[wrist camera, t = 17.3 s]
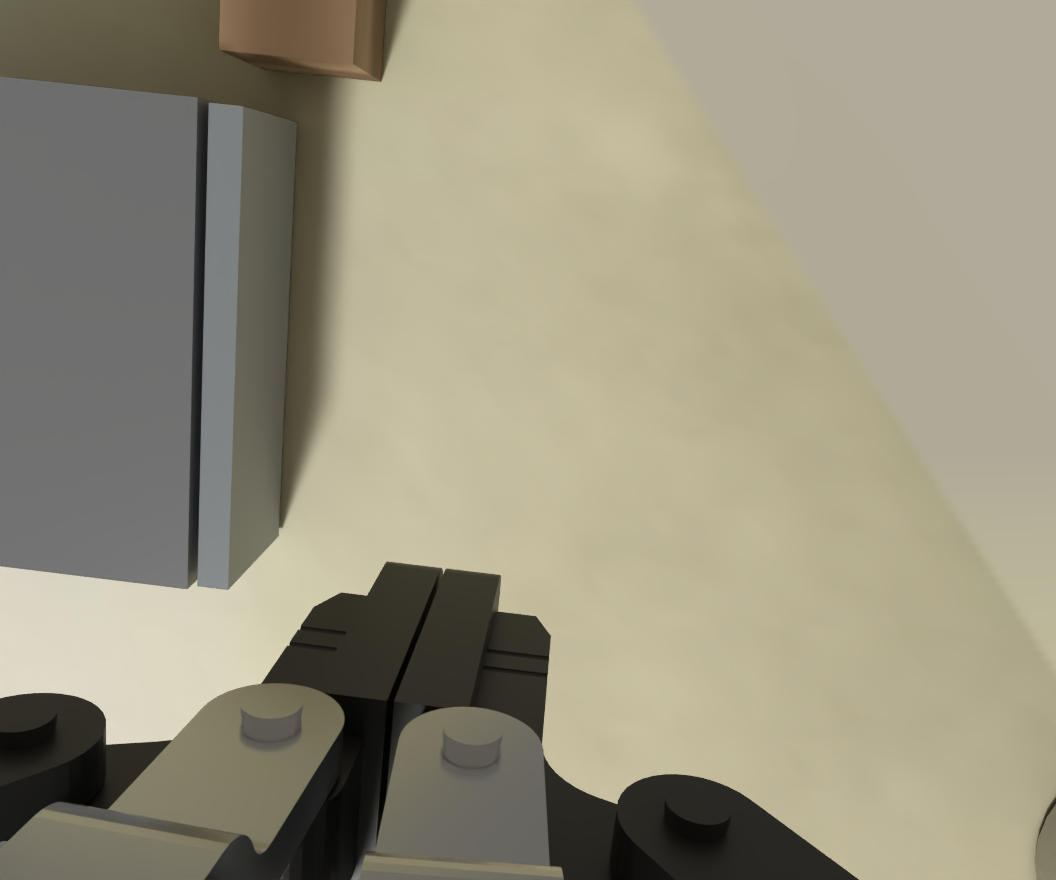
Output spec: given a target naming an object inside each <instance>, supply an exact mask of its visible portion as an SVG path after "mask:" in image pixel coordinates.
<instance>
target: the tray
mask: <svg viewBox="0 0 1056 880" xmlns="http://www.w3.org/2000/svg"><path fill="white" fill-rule="evenodd" d="M296 137H297V122H294V121H290V120H287V119H284V118H280V117H277V116H274V115H271V114H267V113H264V112H261V111H257V110H254V109H251V108H248V107H244V106H236V105H227V104H218V103H209V115H208V145H207V182H206V225H205V267H204V309H203V352H202V394H201V437H200V479H199V538H198V580H197V586H201V587H209V588H217V589H225V590H228V589H229V588H230V587H231V586H232V585H233V584H234V583H235V582H236V581H237V580H238V579H239V578H240V577H241V575H242V574H243V573H244V572H245V571H246V570H247V569H248V568H249V567H250V566H251V565H252V564H253V563H254V562H255V561H256V560H257V558H258V557H259V556H260V555H261V554H262V553H263V552H264V551H265V550H266V549H267V548H268V547H269V546H270V545H271V544H272V543H273V541H274V540H275V539H276V538H277V537H278V536H279V515H280V492H281V470H282V448H283V426H284V404H285V381H286V359H287V337H288V315H289V292H290V270H291V248H292V226H293V203H294V181H295V159H296Z"/></svg>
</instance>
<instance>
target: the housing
mask: <svg viewBox="0 0 1056 880" xmlns="http://www.w3.org/2000/svg"><path fill="white" fill-rule="evenodd" d="M209 103H215V102H212V101H208V100H205V99H201V98H198V97H189V96H180V95H170V94H161V93H151V92H142V91H133V90H123V89H114V88H104V87H95V86H86V85H76V84H67V83H57V82H48V81H39V80H29V79H20V78H10V77H1V76H0V566H3V567H11V568H20V569H28V570H36V571H44V572H52V573H60V574H68V575H76V576H85V577H93V578H101V579H109V580H117V581H125V582H133V583H142V584H150V585H158V586H166V587H174V588H182V589H188V588H189V587H190V586H191V585H192V584H193V583H194V582H195V581H196V580H197V579H198V538H199V479H200V437H201V394H202V352H203V309H204V267H205V225H206V182H207V145H208V115H209ZM218 104H219V103H218Z"/></svg>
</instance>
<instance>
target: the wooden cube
mask: <svg viewBox="0 0 1056 880" xmlns="http://www.w3.org/2000/svg"><path fill="white" fill-rule="evenodd" d="M385 14H386V0H220V22H219V50H221V51H223V52H225V53H227V54H230V55H232V56H234V57H237V58H239V59H241V60H243V61H246V62H248V63H250V64H253V65H255V66H257V67H259V68H262V69H266V70H275V71H285V72H294V73H304V74H313V75H323V76H333V77H342V78H352V79H361V80H371V81H380V82H381V76H382V61H383V45H384V30H385Z"/></svg>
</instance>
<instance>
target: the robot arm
mask: <svg viewBox="0 0 1056 880" xmlns="http://www.w3.org/2000/svg"><path fill="white" fill-rule="evenodd" d="M500 584H501V575H495V574H487V573H478V572H470V571H462V570H454V569H446V570H445V572H444V574H443V570H442V568H436V567H428V566H419V565H411V564H403V563H395V562H386V564H385V565H384V567H383V569H382V570H381V572H380V574H379V576H378V577H377V579H376V581H375V583H374V585H373V586H372V588H371V590H370V592H369V593H368V595H367V596H364V595H356V594H348V593H339V594H338V595H336V596H334V597H332V598H330V599H328V600H326V601H324V602H322V603H321V604H319V605H317V606H315V607H314V608H313V609H312V611H311V612H310V613H309V615H308V616H307V618H306V619H305V621H304V622H303V624H302V625H301V629H300V630H298V631H297V632H296V634H295V635H294V637H293V638H292V640H291V641H290V645H289V646H287V647H286V648H285V650H284V651H283V653H282V654H281V656H280V657H279V659H278V660H277V662H276V663H275V665H274V666H273V667H272V669H271V670H270V672H269V673H268V675H267V676H266V678H265V679H264V681H263V682H262V683H261V684H258V685H250V686H246V687H242V688H238V689H235V690H232V691H229V692H226V693H224V694H222V695H220V696H218V697H216V698H215V699H213V700H211V701H210V702H209V703H208V704H206V705H205V706H204V707H203V708H202V709H201V710H200V711H199V712H198V713H197V714H196V716H195V717H194V718H193V719H192V720H191V721H190V722H189V723H188V724H187V725H186V726H185V727H184V728H183V729H182V731H181V732H180V733H179V734H178V735H177V736H176V737H175V738H174V739H173V740H169V741H159V742H144V743H128V744H112V745H106V719H105V716H104V714H103V712H102V711H101V710H100V709H99V707H97V706H96V705H94V704H93V703H91V702H89V701H87V700H85V699H82V698H79V697H75V696H71V695H65V694H55V693H32V694H22V695H15V696H10V697H4V698H0V880H859V879H857V878H856V877H855V876H853V875H852V874H850V873H849V872H848V871H846V870H845V869H844V868H842V867H841V866H840V865H838V864H837V863H836V862H834V861H833V860H831V859H830V858H829V857H827V856H826V855H825V854H823V853H822V852H821V851H819V850H818V849H816V848H815V847H814V846H812V845H811V844H810V843H808V842H807V841H806V840H804V839H803V838H802V837H800V836H799V835H797V834H796V833H795V832H793V831H792V830H791V829H789V828H788V827H787V826H785V825H784V824H783V823H781V822H780V821H778V820H777V819H776V818H774V817H773V816H772V815H770V814H769V813H768V812H766V811H765V810H764V809H762V808H761V807H759V806H758V805H757V804H755V803H754V802H753V801H751V800H750V799H748V798H747V797H745V796H744V795H742V794H741V793H739V792H737V791H735V790H733V789H731V788H729V787H727V786H725V785H722V784H720V783H717V782H714V781H711V780H707V779H704V778H699V777H694V776H688V775H678V774H667V775H657V776H651V777H648V778H644V779H641V780H639V781H637V782H635V783H633V784H632V785H630V786H629V787H627V788H626V789H625V791H624V792H623V793H622V794H621V796H620V798H619V800H618V804H615V803H612V802H609V801H606V800H603V799H600V798H598V797H595V796H592V795H590V794H587V793H585V792H583V791H581V790H579V789H577V788H576V787H574V786H572V785H571V784H569V783H568V782H566V781H565V780H563V779H562V778H561V777H560V776H559V775H558V774H556V773H555V771H554V770H553V769H552V768H551V767H550V766H549V764H548V762H547V761H546V759H545V757H544V754H543V747H542V736H543V724H544V712H545V700H546V688H547V675H548V663H549V651H550V639H551V636H550V634H549V633H548V632H547V630H546V629H545V628H544V626H543V625H542V624H541V622H540V621H539V620H538V618H537V617H536V616H529V615H521V614H513V613H505V612H498V605H499V595H500ZM1035 866H1036V875H1037V880H1056V804H1055V806H1054V807H1053V809H1052V810H1051V812H1050V813H1049V815H1048V816H1047V818H1046V820H1045V823H1044V825H1043V828H1042V830H1041V833H1040V835H1039V838H1038V843H1037V850H1036V857H1035Z"/></svg>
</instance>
